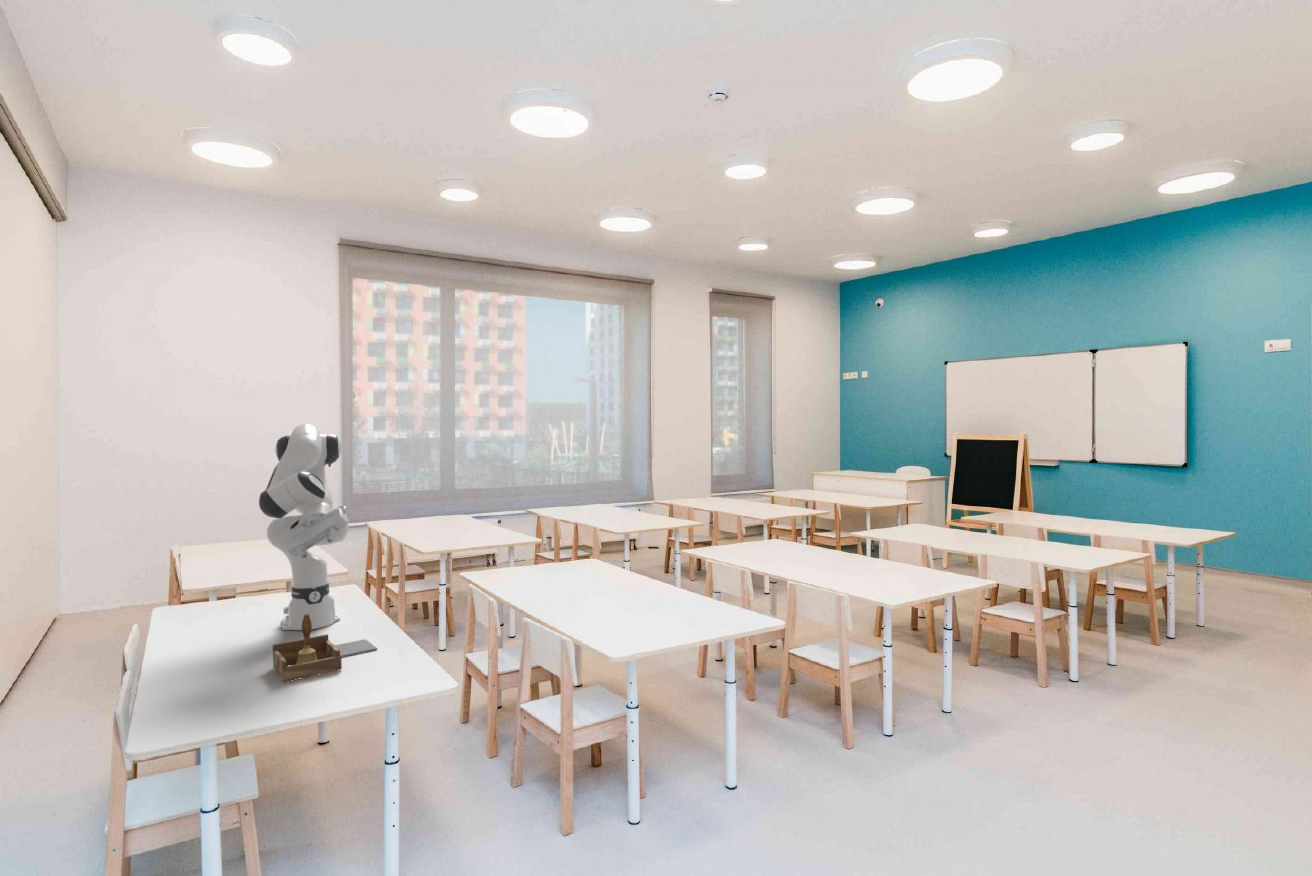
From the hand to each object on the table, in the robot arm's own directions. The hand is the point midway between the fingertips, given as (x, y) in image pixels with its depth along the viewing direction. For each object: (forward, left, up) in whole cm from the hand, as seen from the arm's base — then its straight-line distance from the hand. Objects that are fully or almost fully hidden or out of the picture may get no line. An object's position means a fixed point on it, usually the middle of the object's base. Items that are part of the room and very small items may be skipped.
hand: (317, 548), depth 219 cm
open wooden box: (+12, -6, -33) cm, 35 cm away
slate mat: (+2, +9, -33) cm, 34 cm away
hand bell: (+12, -6, -33) cm, 36 cm away
